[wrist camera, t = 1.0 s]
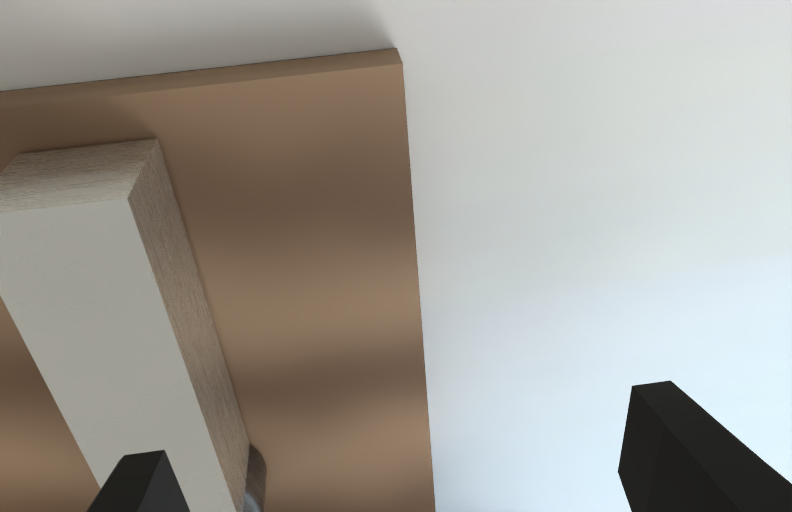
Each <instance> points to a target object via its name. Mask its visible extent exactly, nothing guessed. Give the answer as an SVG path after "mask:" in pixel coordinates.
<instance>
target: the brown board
mask: <svg viewBox="0 0 792 512" xmlns="http://www.w3.org/2000/svg"><path fill="white" fill-rule="evenodd" d="M154 138H158V141H159V145H160V148H161V151H162V155H163V158H164V161H165V164H166V168H167V171H168V174H169V178H170V181H171V184H172V188H173V191H174V194H175V198H176V201H177V204H178V208H179V211H180V214H181V218H182V221H183V224H184V228H185V231H186V234H187V237H188V241H189V244H190V247H191V251H192V254H193V257H194V261H195V264H196V267H197V271H198V274H199V277H200V281H201V284H202V287H203V291H204V294H205V297H206V301H207V304H208V307H209V310H210V314H211V317H212V320H213V324H214V327H215V330H216V334H217V337H218V340H219V344H220V347H221V350H222V354H223V357H224V360H225V364H226V367H227V370H228V374H229V377H230V380H231V383H232V387H233V390H234V393H235V397H236V400H237V403H238V407H239V410H240V413H241V417H242V420H243V423H244V427H245V430H246V433H247V437H248V440H249V443H250V445H252V446H253V447H254V448H255V449H256V450H257V451H258V452H259V453H260V454H261V455H262V457H263V459H264V461H265V463H266V468H267V477H266V491H265V507H264V512H435V499H434V485H433V471H432V458H431V444H430V431H429V417H428V403H427V390H426V376H425V363H424V349H423V335H422V322H421V308H420V295H419V281H418V267H417V254H416V240H415V227H414V213H413V199H412V186H411V172H410V159H409V145H408V132H407V118H406V104H405V91H404V77H403V64H402V61H401V58H400V56H399V53H398V50H397V48H393V49H384V50H375V51H366V52H357V53H348V54H339V55H330V56H321V57H312V58H302V59H293V60H284V61H275V62H266V63H257V64H248V65H239V66H230V67H221V68H211V69H202V70H193V71H184V72H175V73H166V74H157V75H148V76H139V77H130V78H121V79H111V80H102V81H93V82H84V83H75V84H66V85H57V86H48V87H39V88H30V89H20V90H11V91H2V92H0V174H1V172H2V171H3V170H4V169H5V168H6V167H7V166H8V165H9V164H10V163H11V161H12V160H13V159H14V158H15V157H16V156H17V155H18V154H22V153H31V152H40V151H48V150H57V149H66V148H75V147H83V146H92V145H101V144H110V143H118V142H127V141H136V140H145V139H154ZM100 489H101V488H100V487H99V485H98V483H97V481H96V479H95V477H94V475H93V473H92V471H91V469H90V467H89V465H88V463H87V461H86V460H85V458H84V456H83V454H82V452H81V450H80V448H79V446H78V444H77V442H76V440H75V438H74V436H73V434H72V433H71V431H70V429H69V427H68V425H67V423H66V421H65V419H64V417H63V415H62V413H61V411H60V409H59V407H58V406H57V404H56V402H55V400H54V398H53V396H52V394H51V392H50V390H49V388H48V386H47V384H46V382H45V380H44V379H43V377H42V375H41V373H40V371H39V369H38V367H37V365H36V363H35V361H34V359H33V357H32V355H31V353H30V352H29V350H28V348H27V346H26V344H25V342H24V340H23V338H22V336H21V334H20V332H19V330H18V328H17V326H16V325H15V323H14V321H13V319H12V317H11V315H10V313H9V311H8V309H7V307H6V305H5V303H4V301H3V299H2V298H1V296H0V512H86V511H87V510H88V508H89V506H90V505H91V503H92V502H93V500H94V499H95V497H96V496H97V494H98V493H99V491H100Z"/></svg>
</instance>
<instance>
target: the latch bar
mask: <svg viewBox="0 0 792 512" xmlns="http://www.w3.org/2000/svg"><path fill="white" fill-rule="evenodd" d="M0 296H1V298H2V299H3V301H4V303H5V305H6V307H7V309H8V311H9V313H10V315H11V317H12V319H13V321H14V323H15V325H16V326H17V328H18V330H19V332H20V334H21V336H22V338H23V340H24V342H25V344H26V346H27V348H28V350H29V352H30V353H31V355H32V357H33V359H34V361H35V363H36V365H37V367H38V369H39V371H40V373H41V375H42V377H43V379H44V380H45V382H46V384H47V386H48V388H49V390H50V392H51V394H52V396H53V398H54V400H55V402H56V404H57V406H58V407H59V409H60V411H61V413H62V415H63V417H64V419H65V421H66V423H67V425H68V427H69V429H70V431H71V433H72V434H73V436H74V438H75V440H76V442H77V444H78V446H79V448H80V450H81V452H82V454H83V456H84V458H85V460H86V461H87V463H88V465H89V467H90V469H91V471H92V473H93V475H94V477H95V479H96V481H97V483H98V485H99V487H100V488H102V486H103V485H104V483H105V482H106V480H107V479H108V477H109V476H110V474H111V472H112V471H113V469H114V468H115V466H116V465H117V463H118V462H119V460H120V459H121V458H122V457H123V456H124V455H129V454H136V453H144V452H151V451H158V450H165V452H166V454H167V456H168V459H169V461H170V464H171V466H172V468H173V471H174V473H175V476H176V478H177V481H178V483H179V485H180V488H181V490H182V493H183V495H184V497H185V500H186V502H187V505H188V507H189V509H190V512H264V507H265V491H266V477H267V468H266V463H265V461H264V459H263V457H262V455H261V454H260V453H259V452H258V451H257V450H256V449H255V448H254V447H253V446H252V445H250V443H249V440H248V437H247V433H246V430H245V427H244V423H243V420H242V417H241V413H240V410H239V407H238V403H237V400H236V397H235V393H234V390H233V387H232V383H231V380H230V377H229V374H228V370H227V367H226V364H225V360H224V357H223V354H222V350H221V347H220V344H219V340H218V337H217V334H216V330H215V327H214V324H213V320H212V317H211V314H210V310H209V307H208V304H207V301H206V297H205V294H204V291H203V287H202V284H201V281H200V277H199V274H198V271H197V267H196V264H195V261H194V257H193V254H192V251H191V247H190V244H189V241H188V237H187V234H186V231H185V228H184V224H183V221H182V218H181V214H180V211H179V208H178V204H177V201H176V198H175V194H174V191H173V188H172V184H171V181H170V178H169V174H168V171H167V168H166V164H165V161H164V158H163V155H162V151H161V148H160V145H159V141H158V138H154V139H145V140H136V141H127V142H118V143H110V144H101V145H92V146H83V147H75V148H66V149H57V150H48V151H40V152H31V153H22V154H18V155H17V156H16V157H15V158H14V159H13V160H12V161H11V163H10V164H9V165H8V166H7V167H6V168H5V169H4V170H3V171H2V172H1V174H0Z"/></svg>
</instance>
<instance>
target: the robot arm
mask: <svg viewBox="0 0 792 512" xmlns="http://www.w3.org/2000/svg"><path fill="white" fill-rule="evenodd" d="M618 473H619V476H620V479H621V482H622V485H623V488H624V491H625V494H626V496H627V499H628V502H629V505H630V508H631V511H632V512H792V484H791V483H790V482H789V481H788V480H786V479H785V478H784V477H783V476H781V475H780V474H779V473H778V472H777V471H775V470H774V469H773V468H772V467H770V466H769V465H768V464H767V463H766V462H764V461H763V460H762V459H761V458H760V457H759V456H757V455H756V454H755V453H754V452H753V451H751V450H750V449H749V448H748V447H747V446H746V445H744V444H743V443H742V442H741V441H740V440H739V439H737V438H736V437H735V436H734V435H733V434H732V433H730V432H729V431H728V430H727V429H726V428H725V427H723V426H722V425H721V424H720V423H719V422H718V421H717V420H715V419H714V418H713V417H712V416H711V415H710V414H709V413H707V412H706V411H705V410H704V409H703V408H702V407H701V406H699V405H698V404H697V403H696V402H695V401H694V400H693V399H691V398H690V397H689V396H688V395H687V394H686V393H684V392H683V391H682V390H681V389H680V388H679V387H677V386H676V385H675V384H674V383H673V382H671V381H664V382H657V383H650V384H642V385H635V386H632V390H631V396H630V402H629V408H628V414H627V420H626V426H625V432H624V438H623V444H622V450H621V456H620V462H619V468H618ZM86 512H190V509H189V507H188V505H187V502H186V500H185V497H184V495H183V493H182V490H181V488H180V485H179V483H178V481H177V478H176V476H175V473H174V471H173V468H172V466H171V464H170V461H169V459H168V456H167V454H166V452H165V450H158V451H151V452H144V453H136V454H129V455H124V456H123V457H122V458H121V459H120V460H119V462H118V463H117V465H116V466H115V468H114V469H113V471H112V472H111V474H110V476H109V477H108V479H107V480H106V482H105V483H104V485H103V486H102V488H101V489H100V491H99V493H98V494H97V496H96V497H95V499H94V500H93V502H92V503H91V505H90V506H89V508H88V510H87V511H86Z"/></svg>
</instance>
